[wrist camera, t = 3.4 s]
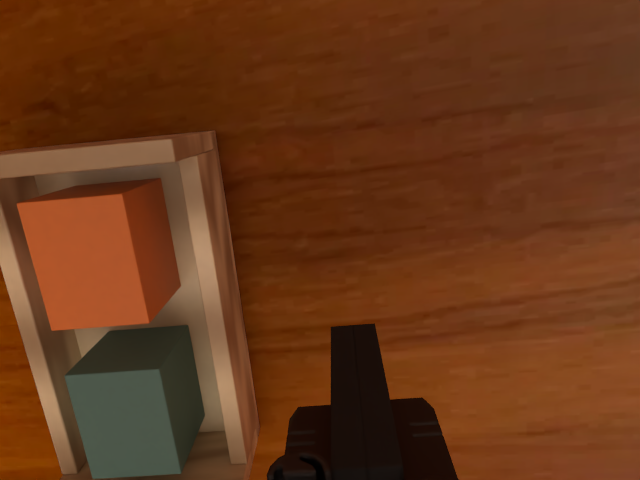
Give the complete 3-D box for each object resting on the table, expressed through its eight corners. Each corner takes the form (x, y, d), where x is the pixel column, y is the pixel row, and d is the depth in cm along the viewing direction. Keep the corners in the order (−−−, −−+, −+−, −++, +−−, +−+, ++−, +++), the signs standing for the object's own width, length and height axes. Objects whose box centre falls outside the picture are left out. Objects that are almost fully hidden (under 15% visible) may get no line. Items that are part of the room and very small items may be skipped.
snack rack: (24, 148, 21) (-90, 162, 16) (215, 130, 21) (171, 137, 15) (100, 439, 26) (33, 535, 20) (260, 428, 25) (239, 523, 19)
